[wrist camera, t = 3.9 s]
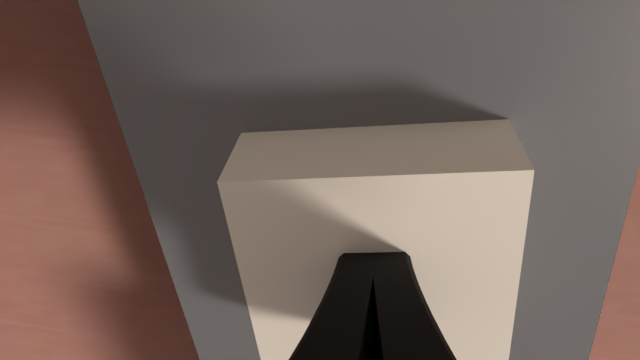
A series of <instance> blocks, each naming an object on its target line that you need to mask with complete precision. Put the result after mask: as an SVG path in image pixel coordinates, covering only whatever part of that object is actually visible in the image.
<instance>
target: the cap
mask: <svg viewBox="0 0 640 360" xmlns="http://www.w3.org/2000/svg"><path fill="white" fill-rule="evenodd" d="M533 178H534V168H533V166H532V164H531V162H530V160H529V158H528V156H527V154H526V152H525V150H524V148H523V146H522V144H521V142H520V140H519V138H518V136H517V134H516V132H515V130H514V128H513V126H512V124H511V122H510V120H509V119H502V120H483V121H463V122H444V123H424V124H405V125H385V126H366V127H346V128H327V129H307V130H287V131H268V132H248V133H241V134H240V136H239V138H238V140H237V142H236V144H235V147H234V149H233V151H232V153H231V155H230V157H229V159H228V161H227V163H226V165H225V167H224V169H223V171H222V173H221V175H220V177H219V179H218V181H217V184H218V188H219V192H220V196H221V200H222V204H223V208H224V212H225V216H226V220H227V225H228V229H229V233H230V237H231V241H232V245H233V249H234V253H235V257H236V261H237V265H238V269H239V273H240V277H241V281H242V285H243V290H244V294H245V298H246V302H247V306H248V310H249V314H250V318H251V322H252V326H253V330H254V334H255V338H256V342H257V346H258V351H259V355H260V359H261V360H289V358H290V357H291V355H292V353H293V352H294V350H295V348H296V347H297V345H298V343H299V342H300V340H301V338H302V337H303V335H304V333H305V331H306V329H307V328H308V326H309V324H310V322H311V320H312V318H313V316H314V314H315V312H316V310H317V308H318V306H319V304H320V302H321V300H322V298H323V296H324V294H325V292H326V289H327V287H328V285H329V283H330V280H331V278H332V275H333V273H334V270H335V267H336V264H337V261H338V258H339V257H340V256H341V255H342V254H343V253H372V252H406V253H407V254H408V255H409V256H410V257H411V262H412V265H413V269H414V272H415V275H416V278H417V280H418V283H419V286H420V288H421V290H422V293H423V295H424V297H425V300H426V302H427V304H428V306H429V309H430V311H431V313H432V315H433V317H434V319H435V321H436V323H437V324H438V326H439V328H440V330H441V332H442V334H443V336H444V338H445V340H446V342H447V343H448V345H449V347H450V349H451V351H452V352H453V354H454V356H455V358H456V359H457V360H509V355H510V347H511V340H512V333H513V325H514V318H515V310H516V303H517V296H518V288H519V281H520V274H521V266H522V259H523V251H524V244H525V237H526V229H527V222H528V215H529V207H530V200H531V192H532V185H533Z"/></svg>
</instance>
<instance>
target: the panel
mask: <svg viewBox="0 0 640 360" xmlns="http://www.w3.org/2000/svg"><path fill="white" fill-rule="evenodd" d="M77 1H78V4H79V7H80V10H81V13H82V16H83V18H84V21H85V24H86V27H87V30H88V33H89V36H90V39H91V42H92V45H93V48H94V51H95V54H96V57H97V60H98V63H99V65H100V68H101V71H102V74H103V77H104V80H105V83H106V86H107V89H108V92H109V95H110V98H111V101H112V104H113V107H114V110H115V113H116V115H117V118H118V121H119V124H120V127H121V130H122V133H123V136H124V139H125V142H126V145H127V148H128V151H129V154H130V157H131V160H132V162H133V165H134V168H135V171H136V174H137V177H138V180H139V183H140V186H141V189H142V192H143V195H144V198H145V201H146V204H147V207H148V210H149V212H150V215H151V218H152V221H153V224H154V227H155V230H156V233H157V236H158V239H159V242H160V245H161V248H162V251H163V254H164V257H165V259H166V262H167V265H168V268H169V271H170V274H171V277H172V280H173V283H174V286H175V289H176V292H177V295H178V298H179V301H180V304H181V307H182V309H183V312H184V315H185V318H186V321H187V324H188V327H189V330H190V333H191V336H192V339H193V342H194V345H195V348H196V351H197V354H198V356H199V359H200V360H261V359H260V355H259V351H258V346H257V342H256V338H255V334H254V330H253V326H252V322H251V318H250V314H249V310H248V306H247V302H246V298H245V294H244V290H243V285H242V281H241V277H240V273H239V269H238V265H237V261H236V257H235V253H234V249H233V245H232V241H231V237H230V233H229V229H228V225H227V220H226V216H225V212H224V208H223V204H222V200H221V196H220V192H219V188H218V184H217V181H218V179H219V177H220V175H221V173H222V171H223V169H224V167H225V165H226V163H227V161H228V159H229V157H230V155H231V153H232V151H233V149H234V147H235V144H236V142H237V140H238V138H239V136H240V134H241V133H248V132H268V131H287V130H307V129H327V128H346V127H366V126H385V125H405V124H424V123H444V122H463V121H483V120H502V119H509V120H510V122H511V124H512V126H513V128H514V130H515V132H516V134H517V136H518V138H519V140H520V142H521V144H522V146H523V148H524V150H525V152H526V154H527V156H528V158H529V160H530V162H531V164H532V166H533V168H534V178H533V185H532V192H531V200H530V207H529V215H528V222H527V229H526V237H525V244H524V251H523V259H522V266H521V274H520V281H519V288H518V296H517V303H516V310H515V318H514V325H513V333H512V340H511V347H510V355H509V360H589V356H590V352H591V348H592V344H593V340H594V337H595V333H596V329H597V325H598V321H599V317H600V313H601V309H602V306H603V302H604V298H605V294H606V290H607V286H608V282H609V278H610V275H611V271H612V267H613V263H614V259H615V255H616V251H617V247H618V244H619V240H620V236H621V232H622V228H623V224H624V220H625V217H626V213H627V209H628V205H629V201H630V197H631V193H632V189H633V186H634V182H635V178H636V174H637V170H638V166H639V162H640V0H77Z"/></svg>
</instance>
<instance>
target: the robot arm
mask: <svg viewBox="0 0 640 360" xmlns="http://www.w3.org/2000/svg"><path fill="white" fill-rule="evenodd" d="M289 360H457V359H456V358H455V356H454V354H453V352H452V351H451V349H450V347H449V345H448V343H447V342H446V340H445V338H444V336H443V334H442V332H441V330H440V328H439V326H438V324H437V323H436V321H435V319H434V317H433V315H432V313H431V311H430V309H429V306H428V304H427V302H426V300H425V297H424V295H423V293H422V290H421V288H420V286H419V283H418V280H417V278H416V275H415V272H414V269H413V265H412V262H411V257H410V256H409V255H408V254H407V253H406V252H372V253H343V254H342V255H341V256H340V257H339V258H338V261H337V264H336V267H335V270H334V273H333V275H332V278H331V280H330V283H329V285H328V287H327V289H326V292H325V294H324V296H323V298H322V300H321V302H320V304H319V306H318V308H317V310H316V312H315V314H314V316H313V318H312V320H311V322H310V324H309V326H308V328H307V329H306V331H305V333H304V335H303V337H302V338H301V340H300V342H299V343H298V345H297V347H296V348H295V350H294V352H293V353H292V355H291V357H290V358H289Z"/></svg>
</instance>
